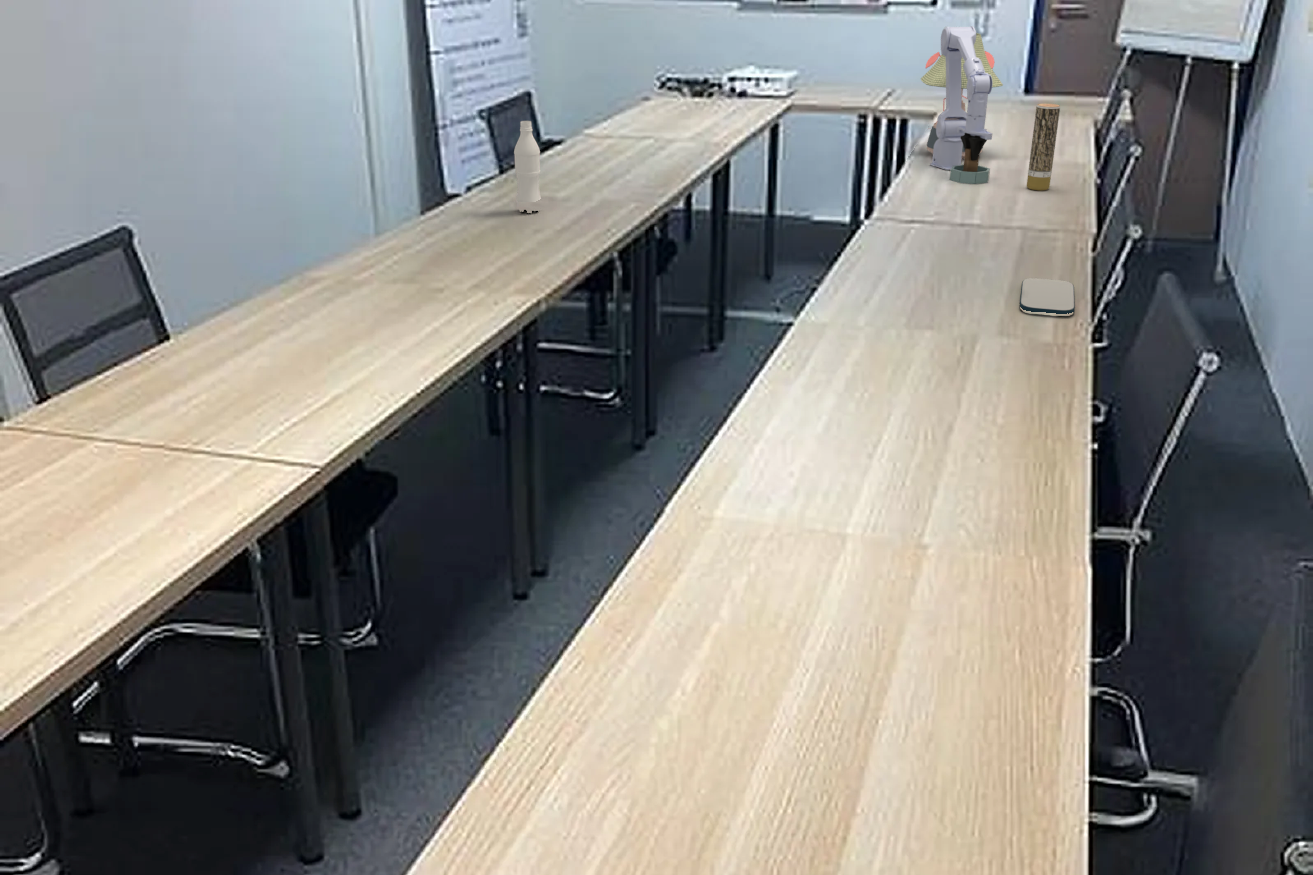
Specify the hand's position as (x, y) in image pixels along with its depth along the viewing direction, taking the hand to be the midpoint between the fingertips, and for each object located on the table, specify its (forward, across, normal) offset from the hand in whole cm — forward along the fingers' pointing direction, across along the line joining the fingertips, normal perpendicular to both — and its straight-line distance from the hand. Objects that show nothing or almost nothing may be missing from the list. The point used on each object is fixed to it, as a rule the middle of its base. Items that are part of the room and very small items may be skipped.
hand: (971, 159), depth 389 cm
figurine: (+6, +66, -43) cm, 79 cm away
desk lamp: (+6, +33, -20) cm, 39 cm away
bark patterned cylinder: (+7, -19, -11) cm, 23 cm away
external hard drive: (+7, -108, +64) cm, 126 cm away
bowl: (+6, 0, 0) cm, 6 cm away
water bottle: (+7, +17, +141) cm, 142 cm away
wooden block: (+4, 0, 0) cm, 4 cm away
